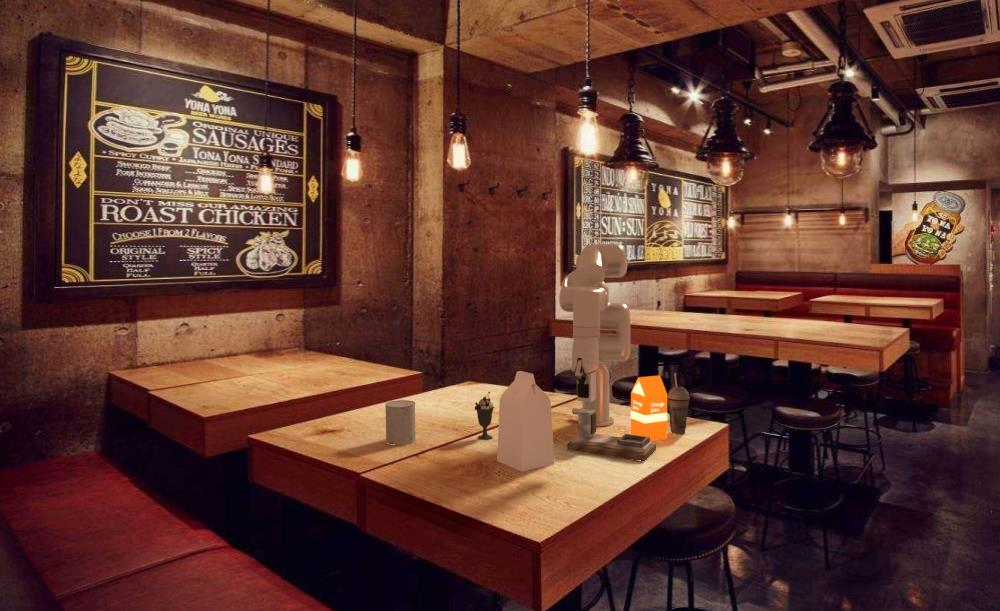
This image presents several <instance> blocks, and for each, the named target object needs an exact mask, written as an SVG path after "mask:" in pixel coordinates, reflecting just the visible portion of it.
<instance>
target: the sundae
mask: <svg viewBox="0 0 1000 611" xmlns="http://www.w3.org/2000/svg"><path fill="white" fill-rule="evenodd" d="M489 394H491V391H488V393H487V394H486V395H485V396H483V397H482V398H481V399H480V400H479V401H478V402H477V401H476V402H475V403H474V404H475V406H474V410H476V414H477V422H478V424H479V425H480V427H481V428H482V435H478V436H477V439H479V440H483V441H485V440H486V441H487V440H491V439H493V436H492V435H490V434H488V430H487V429H488V428H487V427H489V426H490V425H491V424H492V418H493V410H494V409H495V408H496V406H494V404H493V402H492V401H491V400H492V399H491V398H490V397H488V398H487V396H489Z"/></svg>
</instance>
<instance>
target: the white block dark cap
mask: <svg viewBox="0 0 1000 611" xmlns="http://www.w3.org/2000/svg"><path fill="white" fill-rule="evenodd" d="M581 373H585V372H584V371H582V372H581ZM582 376H584V378H585V375H582ZM575 378H576V377H575ZM575 381H576V382H575V384H576V386H575V387H576V389H575V390H576V393H575V394H576V396H577V402H582V401H585V402H592V401H594V400H595V399H596V372H593V371H592V372H590V373H588V383H587V384H589V398H580V397H578V384H577V378H576V380H575Z"/></svg>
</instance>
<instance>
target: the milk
mask: <svg viewBox="0 0 1000 611" xmlns="http://www.w3.org/2000/svg"><path fill="white" fill-rule="evenodd" d="M506 388H507V389H505V390H504V392H503V393H502V394H501V396H500V398H499V402H498V403H499V405H498V409H499V410H498V430H497V431H498V432H497V434H498V435H497V454H496V455H497V457H496V461H497V462H499V463H502V464H504V465H506V466H508V467H511V468H513V469H515V470H518V471H520V472H522V473H523V472H527V471H531V470H534V469H538V468H543V467H547V466H551V465H554V464H555V451H554V435H553V417H552V416H553V415H552V401H551V399H550V397H549V396H548V394H547V393H546V392H544V390H542V389H541V388H540V387H539V386H538V385H537V384H536V380H535V376H534V373H532V372H531V373H530V372H526V371H522V370H519V371H516V373H515V377H514V380H513V381H512V382H511V384H510V385H509V386H508V387H506Z"/></svg>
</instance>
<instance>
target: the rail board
mask: <svg viewBox="0 0 1000 611" xmlns="http://www.w3.org/2000/svg"><path fill="white" fill-rule="evenodd" d="M596 432H597V426H596V413H595V410H587V409H582V410H580V411H579V412H578V415H577V434H576V435H573V437H571V438H570V441H569V442H567V443H566V451H571V452H577V453H583V454H584V453H585V454H590V455H597V456H603V457H612V458H617V459H622V458H624V459H623V460H629V459H633V460H632V461H636V460H641V461H640V462H642V461H645V460H646V459H647V458H648V457H649V456H650V455H651V454H652V453H653V452H654V451H655V452H656V451H657V443H653V442H654V441H650V437H646V436H639V435H631V433H624V434H623V435H622V436H621V437H620V436H614V435H607V434H605V435H604V434H599V433H596ZM655 452H654V453H655ZM654 453H653V454H654ZM653 454H652V455H653ZM652 455H651V456H652ZM651 456H650V457H651ZM650 457H649V458H650ZM649 458H648V459H649ZM648 459H647V460H648ZM647 460H646V461H647ZM646 461H645V462H646Z"/></svg>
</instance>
